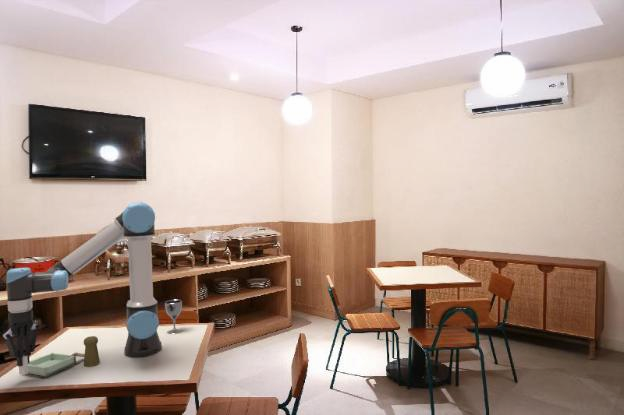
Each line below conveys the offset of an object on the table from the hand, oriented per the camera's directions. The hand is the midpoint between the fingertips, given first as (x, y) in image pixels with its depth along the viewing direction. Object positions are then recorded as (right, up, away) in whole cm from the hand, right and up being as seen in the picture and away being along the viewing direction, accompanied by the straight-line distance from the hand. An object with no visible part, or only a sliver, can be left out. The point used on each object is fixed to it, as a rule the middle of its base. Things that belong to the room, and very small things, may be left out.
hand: (23, 373), depth 162 cm
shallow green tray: (+4, -2, +10) cm, 11 cm away
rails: (+6, -2, +14) cm, 16 cm away
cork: (+18, -2, +15) cm, 23 cm away
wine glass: (+38, 0, +55) cm, 67 cm away
